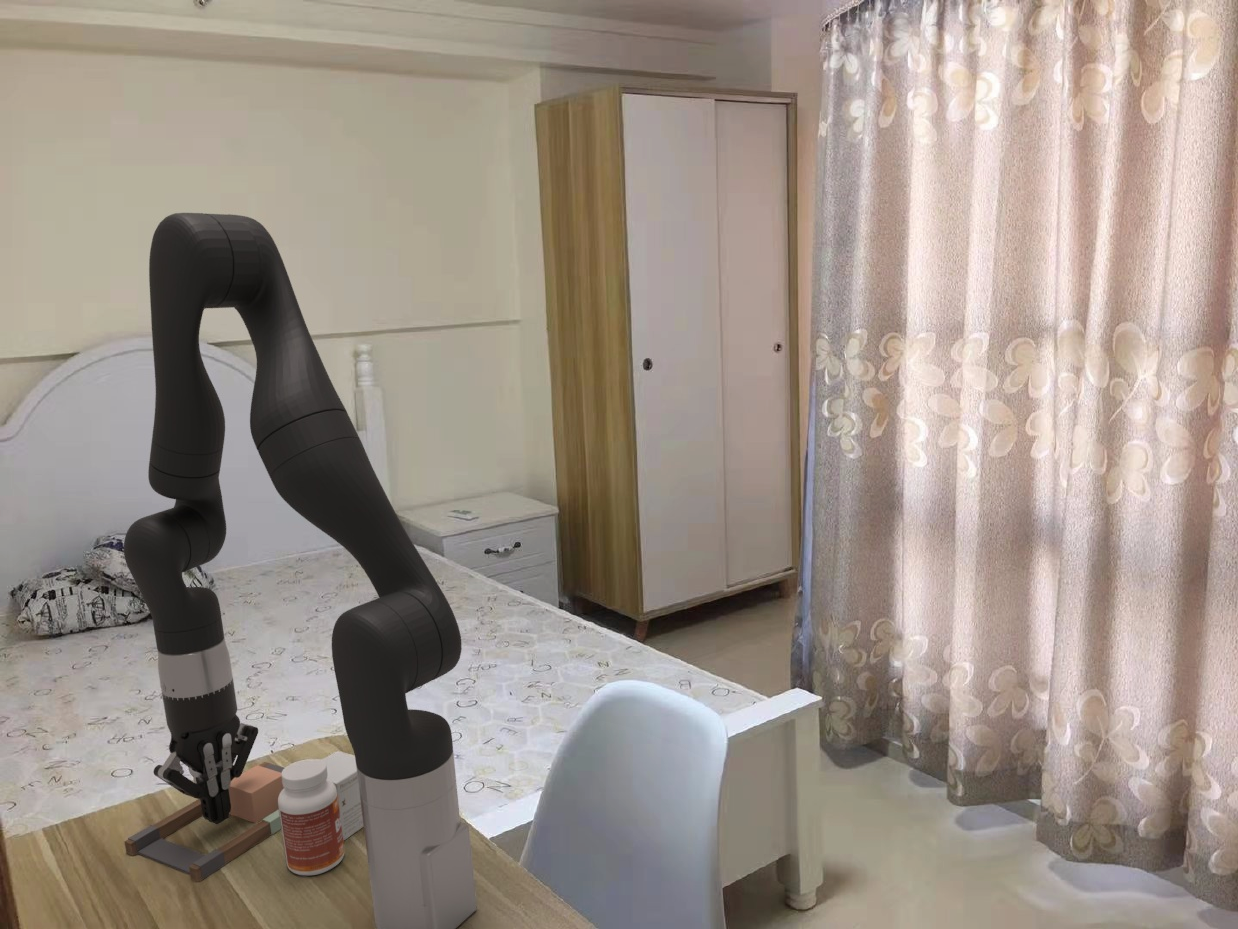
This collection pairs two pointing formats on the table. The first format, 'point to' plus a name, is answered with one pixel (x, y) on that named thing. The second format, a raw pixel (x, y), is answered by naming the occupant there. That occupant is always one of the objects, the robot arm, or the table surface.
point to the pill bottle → (310, 818)
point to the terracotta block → (255, 793)
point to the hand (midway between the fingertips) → (218, 819)
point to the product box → (346, 790)
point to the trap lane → (189, 860)
